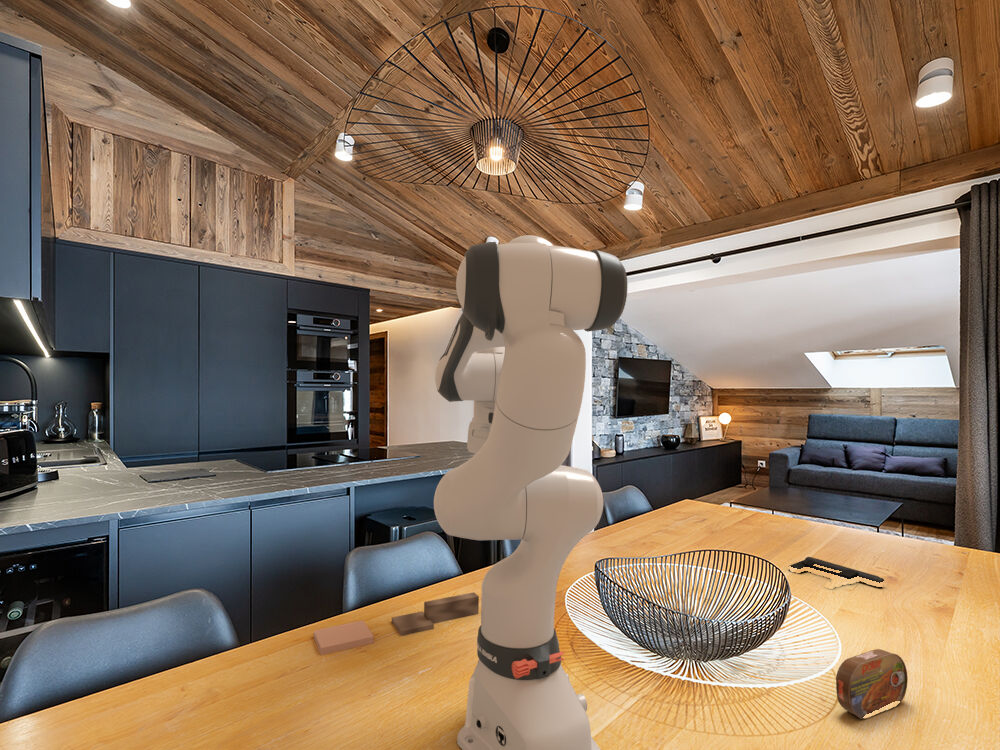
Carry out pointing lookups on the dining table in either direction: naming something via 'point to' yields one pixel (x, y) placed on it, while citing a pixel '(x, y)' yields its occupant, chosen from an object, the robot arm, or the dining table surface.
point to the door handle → (845, 572)
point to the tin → (871, 681)
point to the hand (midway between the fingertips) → (492, 478)
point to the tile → (343, 637)
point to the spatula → (437, 613)
